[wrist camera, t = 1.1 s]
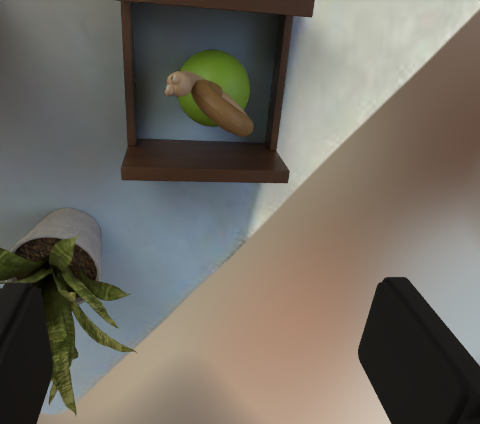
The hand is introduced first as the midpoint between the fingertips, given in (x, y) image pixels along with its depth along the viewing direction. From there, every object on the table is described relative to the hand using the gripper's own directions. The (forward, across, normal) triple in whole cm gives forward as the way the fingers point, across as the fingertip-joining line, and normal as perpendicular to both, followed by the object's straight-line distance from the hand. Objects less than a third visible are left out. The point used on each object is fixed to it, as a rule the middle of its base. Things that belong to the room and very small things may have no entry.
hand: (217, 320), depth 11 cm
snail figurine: (+25, -1, -2) cm, 25 cm away
